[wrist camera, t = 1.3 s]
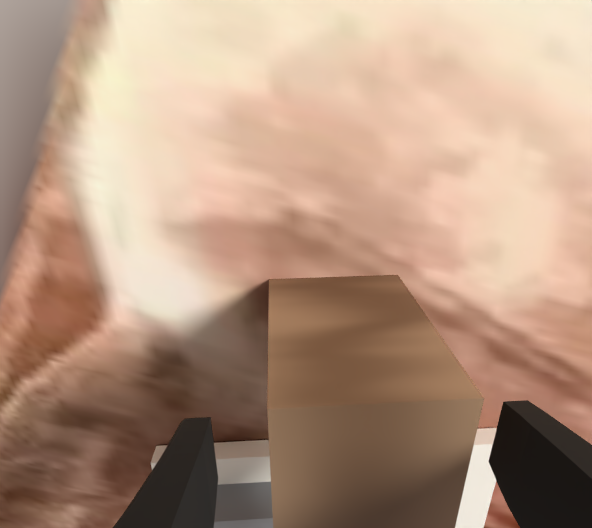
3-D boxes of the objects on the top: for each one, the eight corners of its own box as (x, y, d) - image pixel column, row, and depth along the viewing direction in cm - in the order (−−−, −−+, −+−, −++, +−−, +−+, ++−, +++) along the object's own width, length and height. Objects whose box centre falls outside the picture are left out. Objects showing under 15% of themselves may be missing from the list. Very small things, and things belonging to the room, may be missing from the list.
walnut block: (397, 274, 14) (484, 397, 8) (387, 377, 15) (452, 537, 10) (268, 279, 13) (267, 409, 8) (273, 383, 15) (274, 549, 10)
